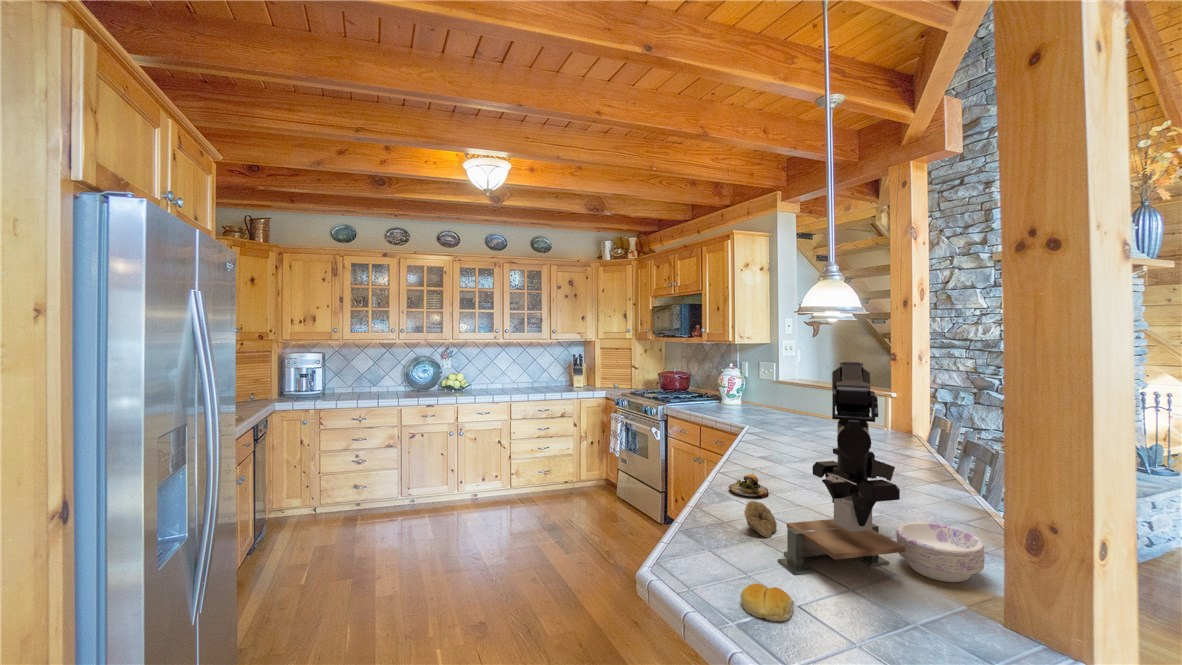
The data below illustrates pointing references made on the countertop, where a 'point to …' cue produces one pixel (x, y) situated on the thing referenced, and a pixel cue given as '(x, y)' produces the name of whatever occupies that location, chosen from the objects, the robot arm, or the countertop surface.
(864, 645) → the countertop surface
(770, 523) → the fossil
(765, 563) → the countertop surface
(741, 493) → the burger
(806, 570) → the trapdoor frame
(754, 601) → the bread roll
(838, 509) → the gray block
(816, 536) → the trapdoor
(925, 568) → the paper bowls
